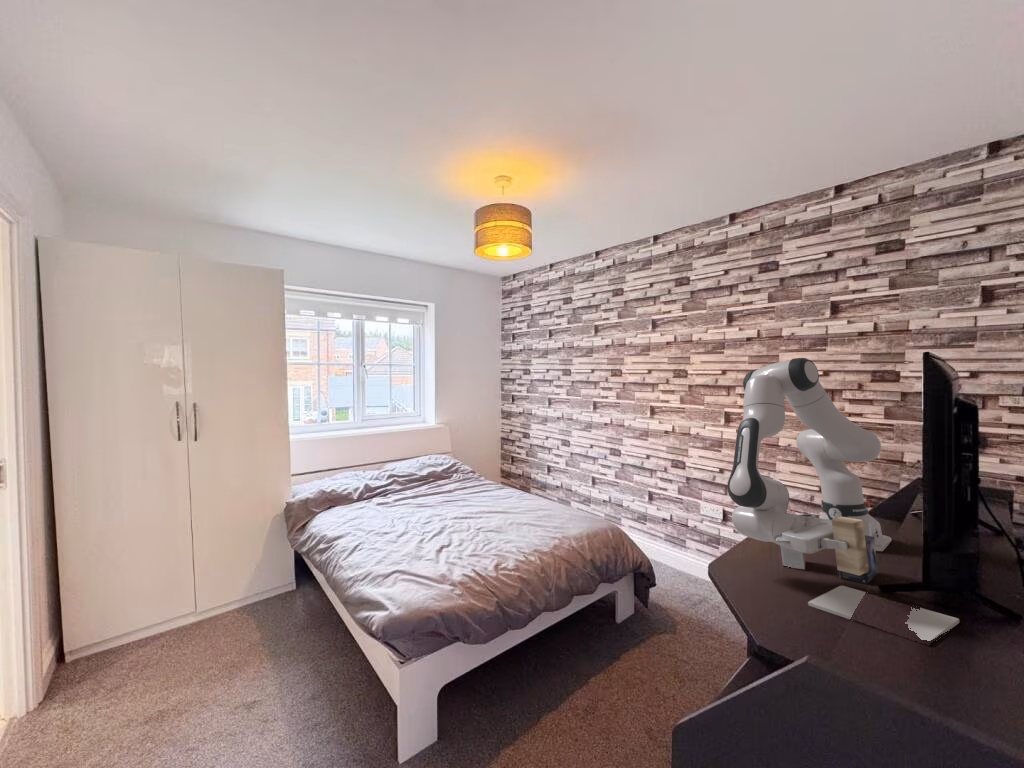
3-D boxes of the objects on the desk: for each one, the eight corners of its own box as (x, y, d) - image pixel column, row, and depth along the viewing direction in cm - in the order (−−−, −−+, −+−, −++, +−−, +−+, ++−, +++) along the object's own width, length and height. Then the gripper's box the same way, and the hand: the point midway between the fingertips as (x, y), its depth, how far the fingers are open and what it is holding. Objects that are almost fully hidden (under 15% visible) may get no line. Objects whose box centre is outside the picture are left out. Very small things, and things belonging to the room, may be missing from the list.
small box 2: (869, 585, 111) (864, 545, 111) (839, 578, 116) (834, 540, 117) (880, 574, 117) (875, 535, 118) (851, 568, 122) (846, 531, 123)
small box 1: (805, 570, 123) (800, 533, 124) (782, 567, 126) (778, 531, 127) (806, 561, 129) (802, 526, 130) (784, 558, 133) (781, 524, 133)
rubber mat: (841, 588, 110) (841, 585, 110) (959, 622, 91) (958, 618, 91) (808, 605, 102) (807, 602, 103) (928, 646, 83) (928, 642, 83)
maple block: (846, 565, 104) (841, 516, 104) (868, 571, 100) (862, 519, 101) (837, 569, 102) (831, 519, 102) (859, 575, 98) (853, 523, 98)
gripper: (768, 526, 108) (829, 538, 96) (812, 513, 117) (872, 522, 105) (771, 551, 107) (832, 567, 95) (815, 536, 117) (875, 548, 105)
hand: (854, 543), depth 100 cm, fingers closed on maple block, 4 cm apart
